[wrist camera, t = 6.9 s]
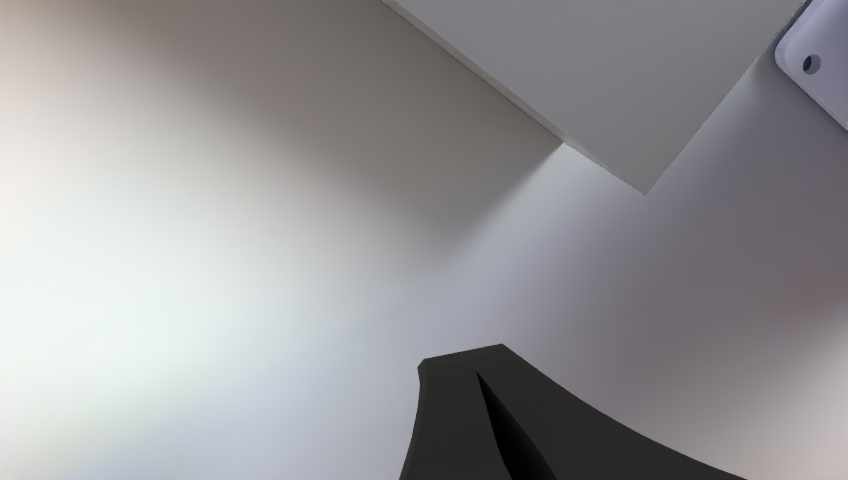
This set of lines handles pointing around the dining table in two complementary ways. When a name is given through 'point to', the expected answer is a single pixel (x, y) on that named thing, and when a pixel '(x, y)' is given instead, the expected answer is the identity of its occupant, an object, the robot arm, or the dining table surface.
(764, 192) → the dining table surface
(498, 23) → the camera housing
